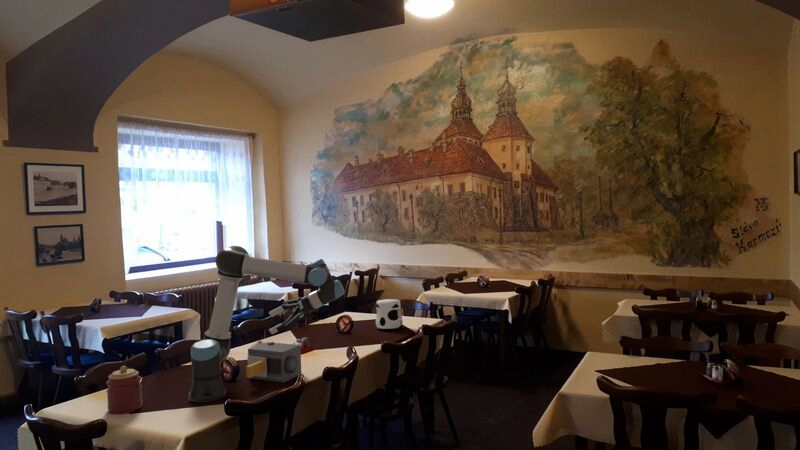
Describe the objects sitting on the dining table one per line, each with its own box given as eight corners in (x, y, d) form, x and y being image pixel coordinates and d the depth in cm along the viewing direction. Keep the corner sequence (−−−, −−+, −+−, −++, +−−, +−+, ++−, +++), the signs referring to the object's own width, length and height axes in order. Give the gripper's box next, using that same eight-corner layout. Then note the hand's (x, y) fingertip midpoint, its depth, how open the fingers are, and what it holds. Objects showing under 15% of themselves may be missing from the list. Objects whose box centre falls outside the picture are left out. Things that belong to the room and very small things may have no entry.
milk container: (372, 327, 375) (372, 300, 375) (398, 324, 381) (397, 298, 380) (380, 332, 359) (379, 304, 358) (406, 330, 364) (405, 301, 363)
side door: (250, 384, 254) (249, 364, 254) (232, 381, 259) (231, 362, 258) (267, 376, 265) (266, 357, 265) (250, 374, 269) (249, 355, 269)
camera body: (285, 383, 261) (284, 351, 260) (248, 378, 270) (246, 347, 270) (304, 374, 274) (303, 343, 274) (267, 370, 284) (266, 340, 283)
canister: (148, 402, 241) (146, 361, 240) (134, 413, 228) (132, 369, 227) (116, 404, 240) (114, 362, 240) (101, 415, 227) (99, 371, 227)
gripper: (318, 323, 251) (275, 345, 251) (313, 293, 273) (274, 313, 273) (309, 311, 247) (266, 333, 248) (306, 281, 269) (266, 302, 270)
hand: (270, 323), depth 260 cm, fingers open, 13 cm apart
